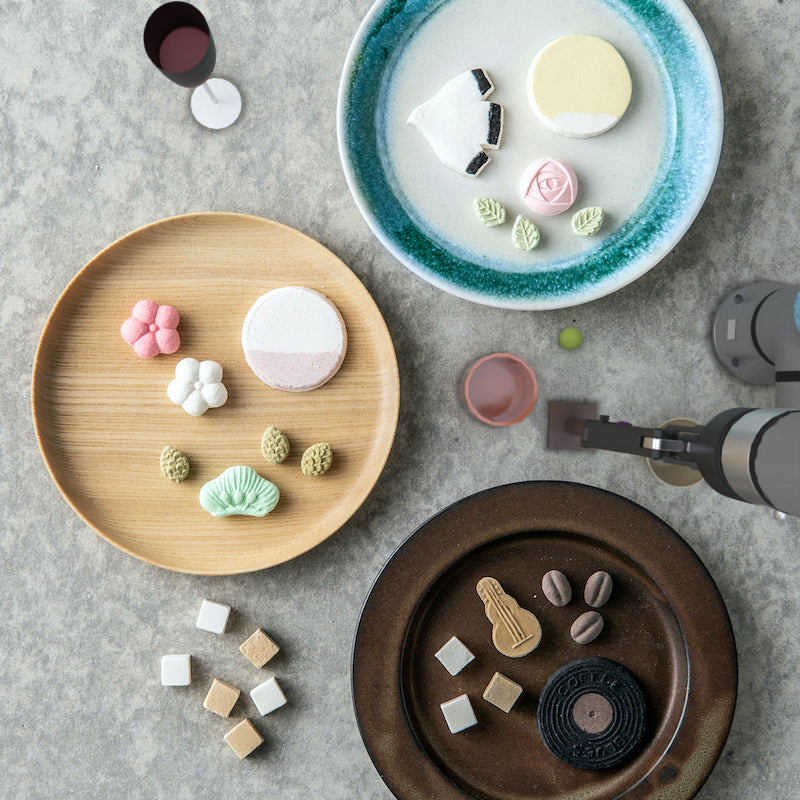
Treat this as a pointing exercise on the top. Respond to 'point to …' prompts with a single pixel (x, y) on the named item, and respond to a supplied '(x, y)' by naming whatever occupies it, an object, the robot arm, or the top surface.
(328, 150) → the top surface
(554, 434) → the stand
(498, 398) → the pink bowl
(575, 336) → the green grape
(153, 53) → the wineglass
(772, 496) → the robot arm
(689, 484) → the flower pot
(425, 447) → the top surface
